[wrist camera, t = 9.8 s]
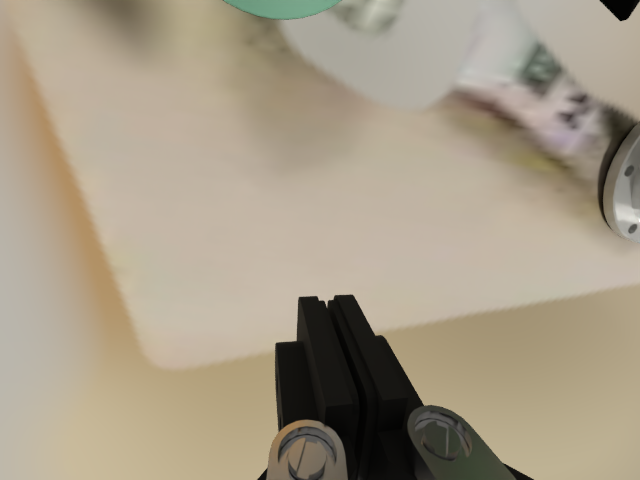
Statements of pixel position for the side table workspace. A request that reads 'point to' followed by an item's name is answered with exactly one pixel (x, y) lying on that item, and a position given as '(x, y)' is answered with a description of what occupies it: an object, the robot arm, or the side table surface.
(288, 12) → the disc
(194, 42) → the side table surface
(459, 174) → the side table surface
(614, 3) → the build plate
